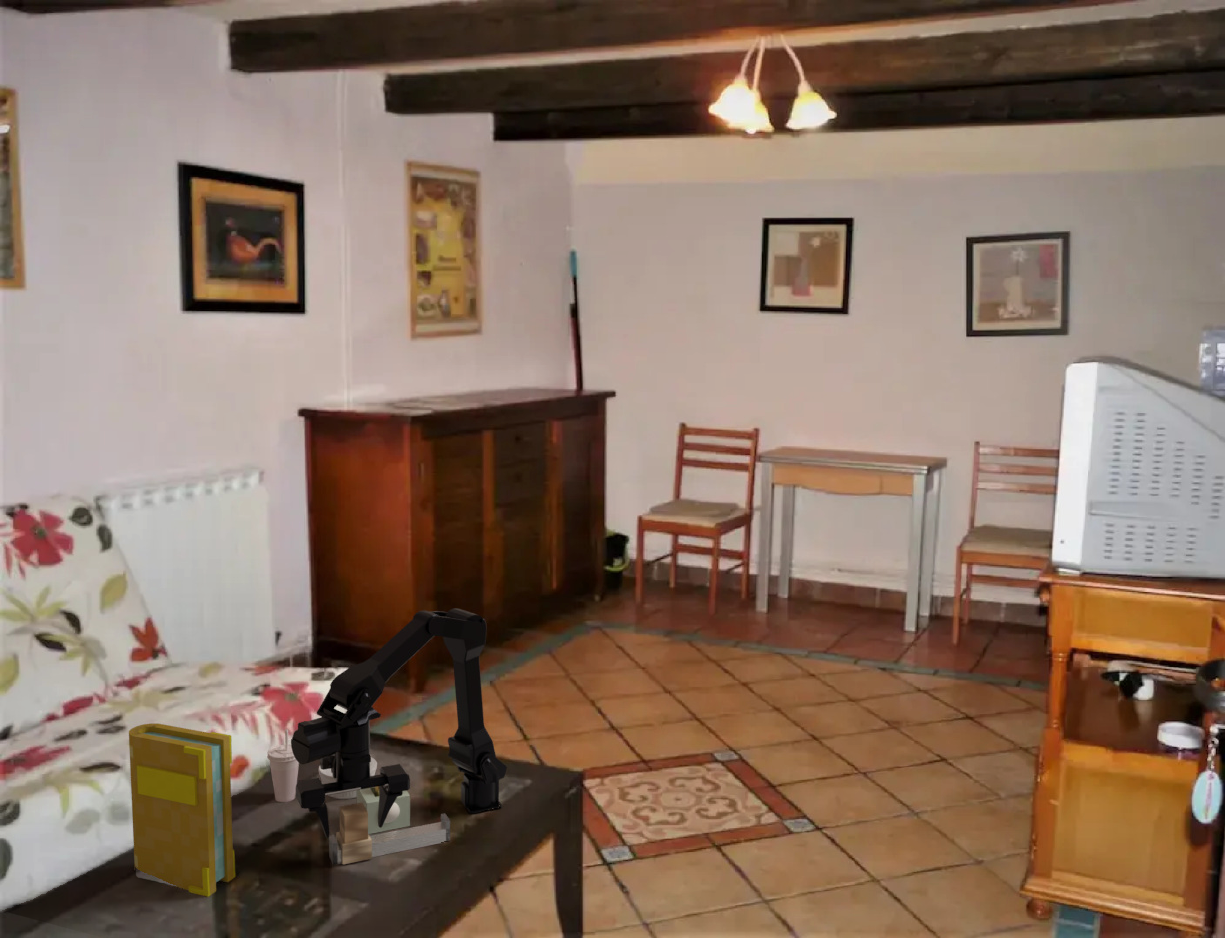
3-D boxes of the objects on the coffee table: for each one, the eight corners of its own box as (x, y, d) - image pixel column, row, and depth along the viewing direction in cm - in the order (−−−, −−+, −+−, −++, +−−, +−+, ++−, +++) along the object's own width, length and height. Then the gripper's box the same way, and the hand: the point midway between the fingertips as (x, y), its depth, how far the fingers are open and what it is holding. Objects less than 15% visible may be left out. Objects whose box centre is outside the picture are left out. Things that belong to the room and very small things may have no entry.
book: (235, 876, 180) (231, 735, 177) (208, 896, 174) (203, 750, 170) (154, 857, 186) (148, 720, 182) (125, 876, 180) (118, 734, 176)
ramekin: (307, 796, 211) (307, 770, 210) (340, 773, 221) (340, 749, 220) (356, 806, 207) (355, 780, 206) (387, 783, 217) (387, 758, 217)
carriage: (364, 845, 191) (364, 800, 190) (371, 858, 187) (371, 812, 186) (336, 850, 189) (335, 805, 188) (343, 864, 185) (342, 818, 183)
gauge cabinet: (398, 807, 207) (398, 778, 206) (410, 826, 199) (410, 795, 198) (357, 815, 203) (356, 785, 202) (367, 834, 196) (367, 803, 195)
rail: (445, 833, 197) (445, 813, 196) (450, 841, 194) (450, 820, 194) (329, 857, 188) (329, 835, 187) (332, 865, 185) (332, 843, 184)
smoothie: (292, 806, 206) (290, 737, 204) (261, 803, 207) (260, 734, 205) (308, 792, 212) (307, 725, 210) (278, 788, 213) (277, 721, 211)
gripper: (393, 722, 196) (394, 802, 199) (289, 738, 188) (290, 821, 190) (410, 744, 186) (411, 829, 189) (300, 762, 178) (302, 850, 180)
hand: (353, 831), depth 187 cm, fingers open, 9 cm apart
